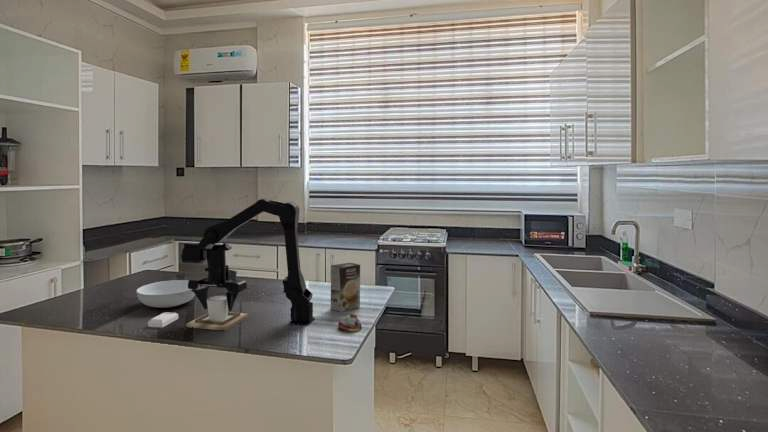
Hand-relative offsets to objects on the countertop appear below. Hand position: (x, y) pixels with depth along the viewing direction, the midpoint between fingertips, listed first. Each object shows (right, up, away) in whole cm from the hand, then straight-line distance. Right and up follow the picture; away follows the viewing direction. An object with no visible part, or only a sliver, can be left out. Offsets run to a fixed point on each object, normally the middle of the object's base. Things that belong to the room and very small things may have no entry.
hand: (218, 309), depth 147 cm
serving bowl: (-26, -2, +20) cm, 33 cm away
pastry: (+44, -5, -5) cm, 45 cm away
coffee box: (+41, -3, +16) cm, 44 cm away
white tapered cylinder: (0, -3, 0) cm, 3 cm away
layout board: (0, -4, 0) cm, 4 cm away
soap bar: (-18, -5, 0) cm, 18 cm away
